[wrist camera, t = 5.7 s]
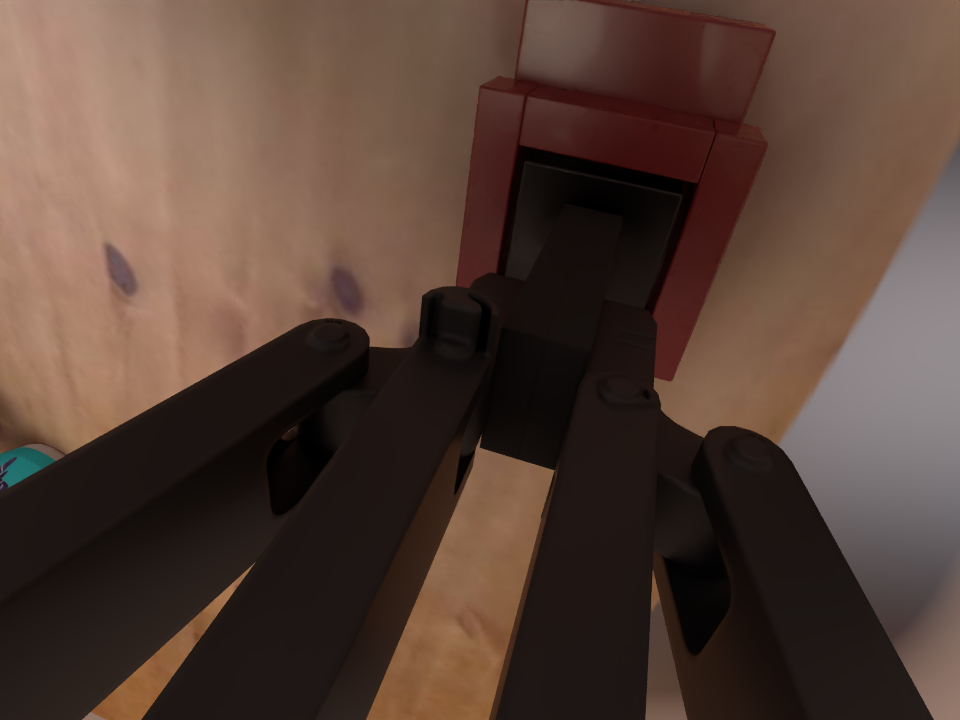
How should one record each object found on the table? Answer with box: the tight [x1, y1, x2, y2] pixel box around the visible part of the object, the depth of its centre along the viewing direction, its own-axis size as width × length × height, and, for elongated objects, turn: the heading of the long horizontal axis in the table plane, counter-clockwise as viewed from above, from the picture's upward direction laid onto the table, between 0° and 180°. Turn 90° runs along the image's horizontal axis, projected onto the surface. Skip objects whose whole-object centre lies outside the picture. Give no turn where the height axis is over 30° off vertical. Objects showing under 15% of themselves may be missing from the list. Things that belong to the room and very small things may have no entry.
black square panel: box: [504, 149, 683, 309], centre depth 16 cm, size 4×4×2 cm
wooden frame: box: [456, 0, 776, 381], centre depth 17 cm, size 11×7×4 cm, turn 172°
